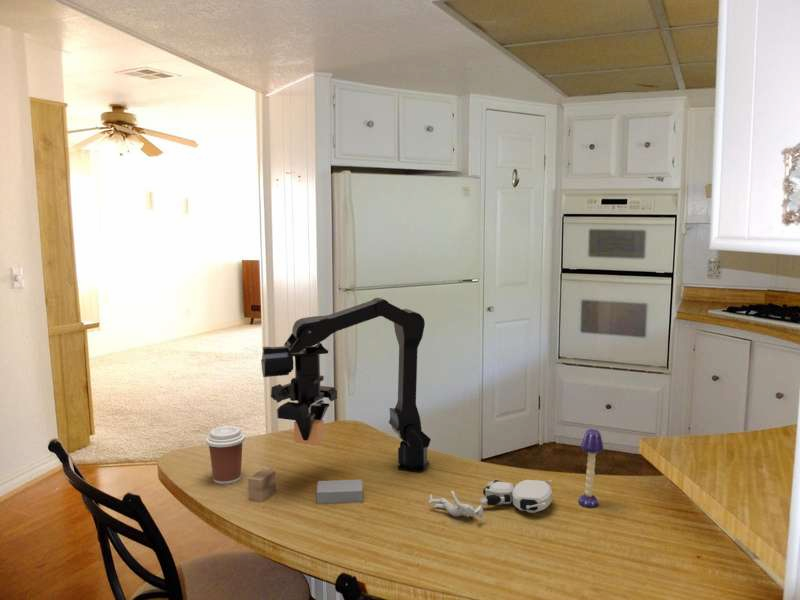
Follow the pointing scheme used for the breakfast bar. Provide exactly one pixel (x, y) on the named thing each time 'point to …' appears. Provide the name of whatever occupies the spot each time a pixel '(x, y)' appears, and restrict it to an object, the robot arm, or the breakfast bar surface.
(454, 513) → the white plastic figure
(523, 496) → the robot toy
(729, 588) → the breakfast bar surface
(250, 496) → the walnut brick
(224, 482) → the coffee cup
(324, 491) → the grey brick
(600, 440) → the toy lamp
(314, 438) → the orange brick
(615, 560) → the breakfast bar surface
